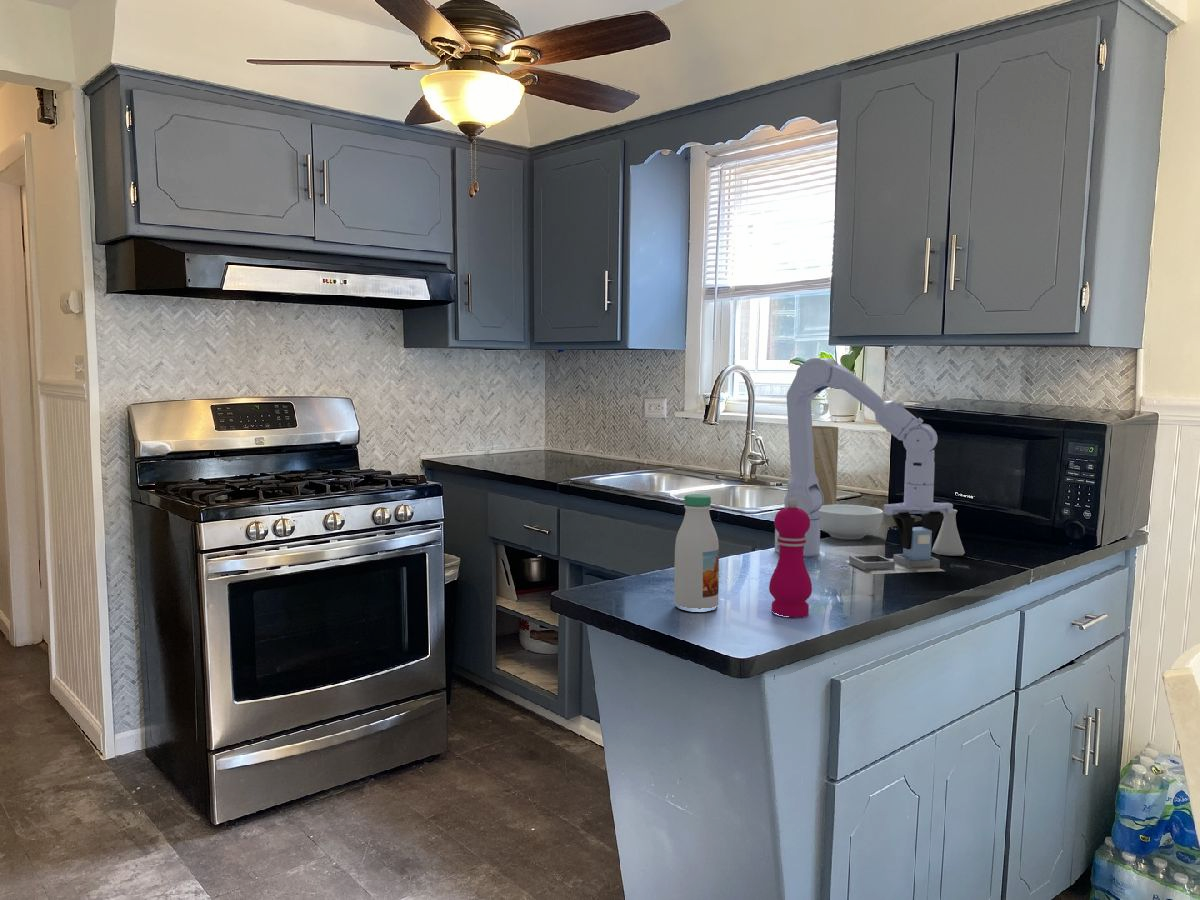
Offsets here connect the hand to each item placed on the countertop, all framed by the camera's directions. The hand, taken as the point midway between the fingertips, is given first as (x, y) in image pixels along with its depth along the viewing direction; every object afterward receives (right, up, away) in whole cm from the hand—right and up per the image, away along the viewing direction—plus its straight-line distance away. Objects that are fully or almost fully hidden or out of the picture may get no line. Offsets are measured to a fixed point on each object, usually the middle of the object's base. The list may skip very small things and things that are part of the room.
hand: (916, 547), depth 186 cm
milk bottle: (-49, -8, -29) cm, 57 cm away
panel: (-5, -5, 0) cm, 7 cm away
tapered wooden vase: (-5, +2, +65) cm, 65 cm away
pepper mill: (-33, -8, -32) cm, 47 cm away
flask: (+13, -3, +16) cm, 21 cm away
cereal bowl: (-5, -1, +36) cm, 36 cm away
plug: (0, -3, 0) cm, 3 cm away
